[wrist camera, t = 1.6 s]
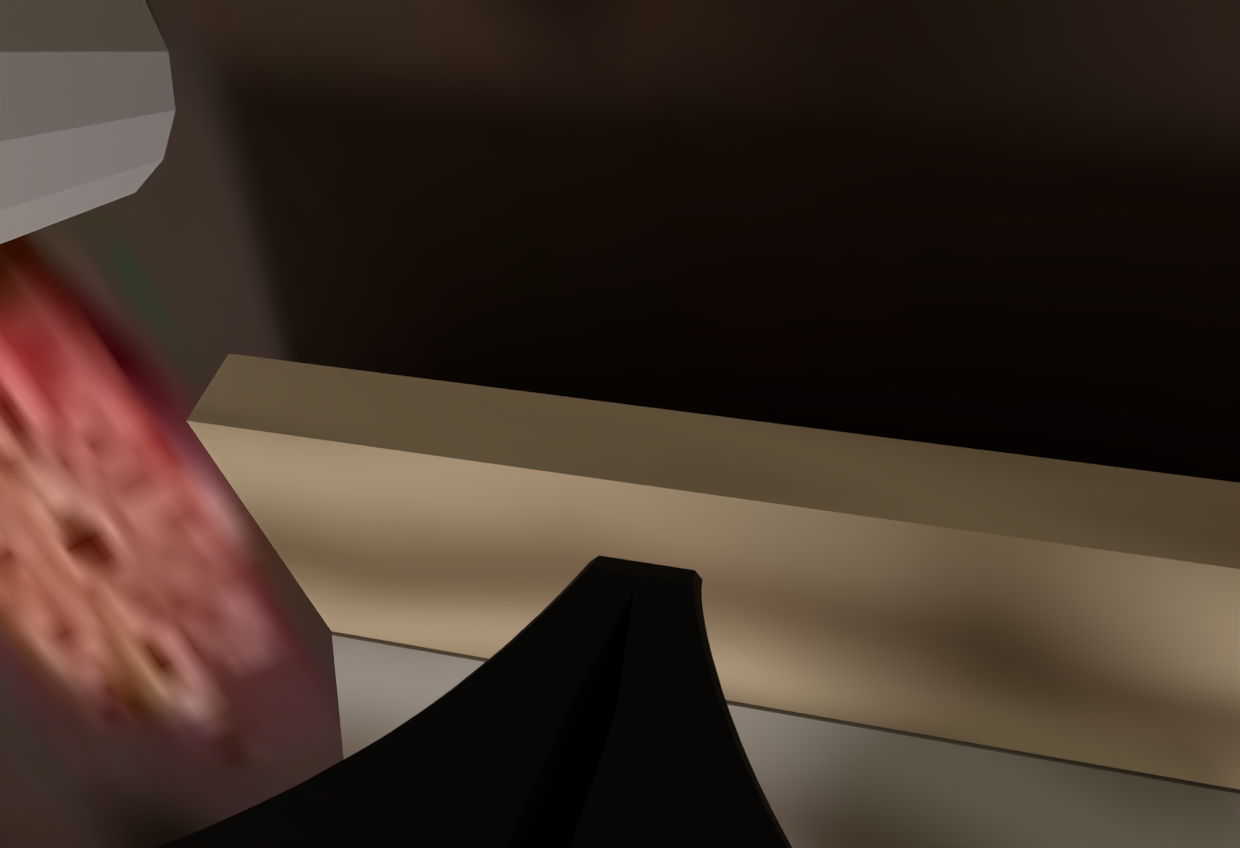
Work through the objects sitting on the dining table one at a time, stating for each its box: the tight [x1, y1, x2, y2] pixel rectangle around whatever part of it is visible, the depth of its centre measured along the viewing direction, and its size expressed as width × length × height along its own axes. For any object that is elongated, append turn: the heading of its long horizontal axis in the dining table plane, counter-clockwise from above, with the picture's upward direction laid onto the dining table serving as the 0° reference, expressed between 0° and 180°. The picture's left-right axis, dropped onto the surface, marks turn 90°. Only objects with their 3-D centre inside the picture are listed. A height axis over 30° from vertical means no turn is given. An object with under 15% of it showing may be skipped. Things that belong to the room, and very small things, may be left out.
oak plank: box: [187, 354, 1240, 790], centre depth 16 cm, size 8×22×2 cm, turn 88°
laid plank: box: [332, 632, 1240, 848], centre depth 21 cm, size 8×22×2 cm, turn 87°
